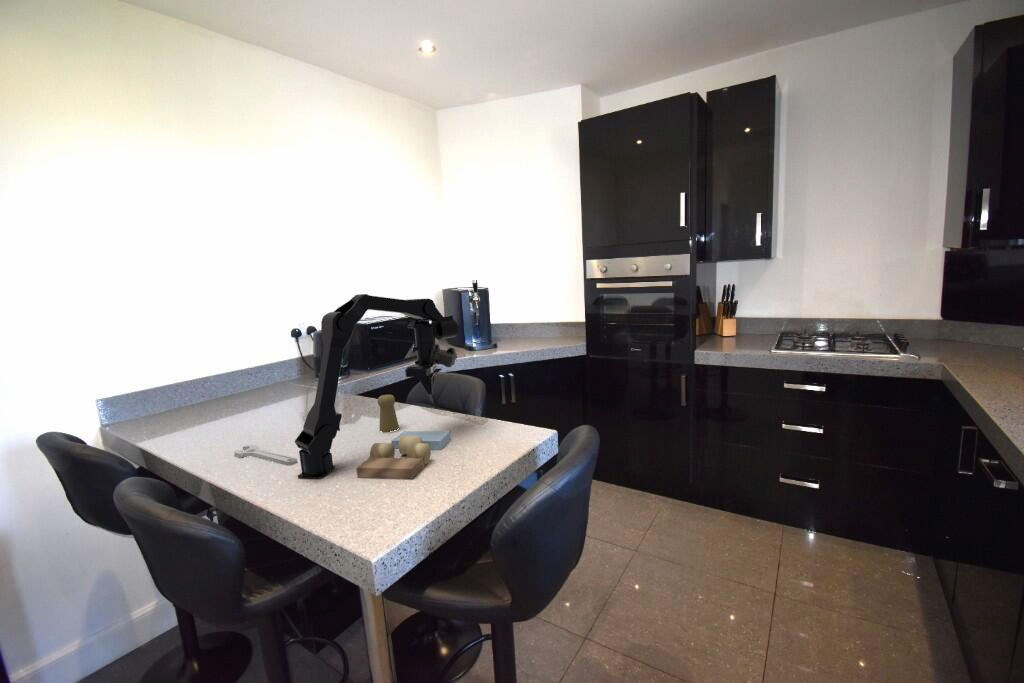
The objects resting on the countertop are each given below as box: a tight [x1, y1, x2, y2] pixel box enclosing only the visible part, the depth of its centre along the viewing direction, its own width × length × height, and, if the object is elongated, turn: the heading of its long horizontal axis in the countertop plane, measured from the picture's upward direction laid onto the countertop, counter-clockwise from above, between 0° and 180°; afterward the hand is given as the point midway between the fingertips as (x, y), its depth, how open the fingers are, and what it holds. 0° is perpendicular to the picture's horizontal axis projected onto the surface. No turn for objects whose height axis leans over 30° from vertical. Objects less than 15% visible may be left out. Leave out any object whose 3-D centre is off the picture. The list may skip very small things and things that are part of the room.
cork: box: [377, 394, 400, 432], centre depth 141 cm, size 6×6×11 cm
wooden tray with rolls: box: [356, 442, 432, 480], centre depth 111 cm, size 14×11×5 cm
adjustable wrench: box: [233, 444, 298, 466], centre depth 124 cm, size 25×6×2 cm, turn 55°
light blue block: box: [391, 430, 452, 455], centre depth 124 cm, size 14×13×5 cm
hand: (430, 394), depth 134 cm, fingers closed
